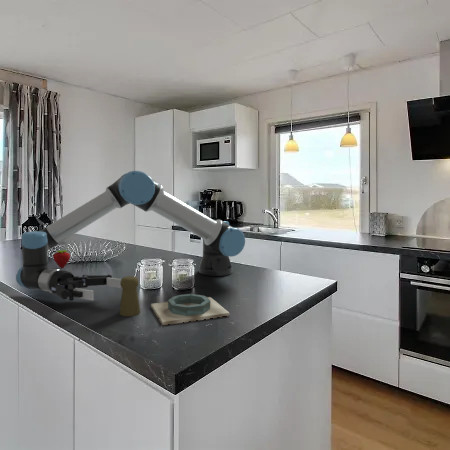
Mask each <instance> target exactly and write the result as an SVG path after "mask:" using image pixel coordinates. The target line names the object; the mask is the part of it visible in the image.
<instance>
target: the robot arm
mask: <svg viewBox="0 0 450 450" xmlns="http://www.w3.org/2000/svg"><path fill="white" fill-rule="evenodd" d="M129 204H131V205H133V206H134V207H137V208H138V209H140V210H142V211H144V212H151V211H153V212H154V213H156V214H158V215H159V216H161V217H163V218H165V219H167V220H168V221H170V222H172V223H173V224H176V225H178V226H179V227H181V228H183V229H185V230H186V231H188V232H190V233H192V234H194V235H195V236H198V237H199V238H201V239H202V257H201V260H200V263H199V266H198V273H199V274H201V275H204V276H208V277H209V276H210V277H211V276H212V277H221V276H228V275H231V274H233V265H232V262H231V257H236V256H238V255H239V254H241V252H243V250H244V248H245V246H246V236H245V234H244V232H243V231H242V230H240V229H239V228H238V227H234V226H231V225H230V222H229V221H228V220H227V221H225V220H224V221H223V220H222V219H216V220H215V219H212V218H210V217H209V216H207V215H205V214H204V213H202V212H201V211H199V210H197V209H196V208H194V207H192V206H190V205H188V204H187V203H185V202H183V201H181V200H180V199H178V198H177V197H175V196H173V195H172V194H170V193H168V192H166V191H165V190H164V189H163V185H162V183H159V182H158V181H156V180H155V179H153V178H152V177H151V176H149V174H147V173H145V172H143V171H140V170H132V171H128V172H126V173H124V174H122V175H121V176H120V177H119V178H118V179H117V180H115V181H114V182H113V183H112V184H110V185H109V186H107V187H105V191H104V192H102V193H101V194H98V195H97V196H95V197H94V198H91V200H89V201H87V202H85V203H84V204H82V205H81V206H79V207H77V208H75V209H74V210H71V211H70V212H69V213H67V214H66V215H64V216H62V217H61V218H59V219H57V220H56V221H54V222H53V223H51V224H49V225H47V226H46V227H44V228H43V229H41V230H39V231H38V230H36V231H35V230H34V231H33V230H32V231H26V232H23V233H22V234H21V249H22V253H21V254H22V255H21V256H22V267H20V268H19V269H18V271H17V274H16V275H15V281H16V283H17V285H19V286H20V287H22V288H25V289H26V288H27V289H29V290H36V291H37V290H38V291H43V292H49V293H50V294H55V295H57V296H58V297H60V299H62V300H67V299H68V298H69V299H68V300H69V301H74V300H75V298H76V299H80V300H87V301H88V300H89V301H94V300H95V297H94V296H95V294H94V292H95V291H94V290H92V289H88V287H92V286H105V285H106V287H112V288H119V289H123V288H122V287H121V279H122V278H115V277H113V276H112V275H111V274H107V275H103V274H101V275H99V274H98V275H92V274H91V275H90V274H83V275H82V276H78V275H77V276H76V275H74V274H73V272H71V271H69V270H63V269H56V268H49V257H48V256H49V253H48V252H49V251H50V250H51V249H52V248H54V247H56V246H57V245H59V244H61V243H62V242H63V241H65V240H67V239H68V238H70V237H72V236H74V235H75V234H77V233H78V232H79V231H82V230H83V229H85V228H86V227H88V226H90V225H92V224H93V223H95V222H96V221H98V220H99V219H101V218H102V217H104V216H106V215H107V214H109V213H111V212H112V211H114V210H115V209H122V208H123V207H125V206H127V205H129ZM86 288H87V289H86Z"/></svg>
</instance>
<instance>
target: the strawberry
mask: <svg viewBox="0 0 450 450" xmlns="http://www.w3.org/2000/svg"><path fill="white" fill-rule="evenodd" d="M61 249H62V250H57V251H56V252H55V253H54V254H53V257H52V258H53V260H54V262H55V264H56V265H57V266H58V267H59V268H60V269H64V268H65V267H66V266H67V264H68V263H69V261H70V260H71V255H70V253H69V251H67V249H63V248H61Z"/></svg>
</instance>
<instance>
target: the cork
mask: <svg viewBox="0 0 450 450" xmlns="http://www.w3.org/2000/svg"><path fill="white" fill-rule="evenodd" d="M120 279H121V287H122V288H121V289H122V290H121V300H120V306H119V307H120V308H119V315H120V316H121V315H122V317H135V316H137V315H140V313H141V309H140V302H139V295H138V289H137V288H138V286H139V278H138V277H136V276H134V275H133V276H132V275H128V276H124V277H122V278H120Z"/></svg>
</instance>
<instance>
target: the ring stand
mask: <svg viewBox="0 0 450 450" xmlns="http://www.w3.org/2000/svg"><path fill="white" fill-rule="evenodd" d="M150 306H151V307H150V308H151V309H152V310H153V312H154V314H155V315H156V317H157V318H159V319H158V320H159V323H161V325H162V326H167V325H168V324H170V325H175V324H176V325H177V324H183V322H184V323H190V322H189V321H191V322H197V321H196V320H198V321H203V320H204V319H206V320H211V319H210V318H213V319H218V318H217V317H220V318H223V317H222V316H227V317H229V316H228V315H230V312H229V311H228V310H227V309H226V308H224V307H223V306H222V305H221V304H220V303H218V302H217V301H216V300H215V299H213V298H212V297H211V296H205V295H204V294H203V295H202V294H195V293H187V294H186V293H185V294H177V295H174V296H173V297H171V298H169V299H168V300H167V301H165V302H163V301H162V302H156V303H154V302H153V303H151V304H150ZM230 316H231V315H230ZM204 321H205V320H204Z"/></svg>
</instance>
